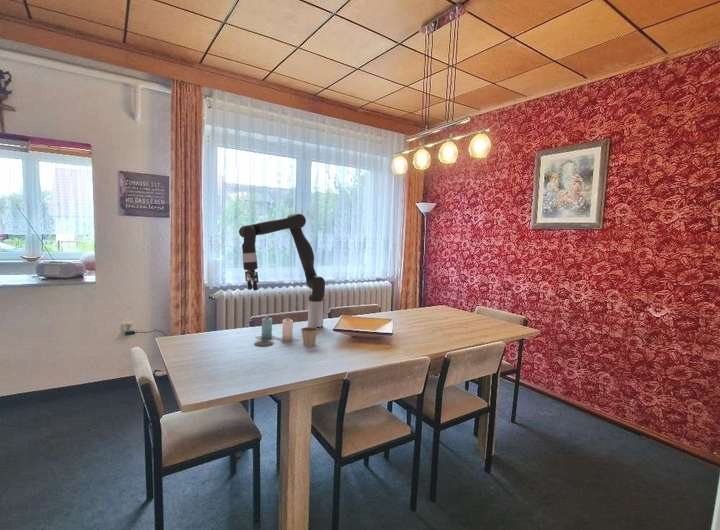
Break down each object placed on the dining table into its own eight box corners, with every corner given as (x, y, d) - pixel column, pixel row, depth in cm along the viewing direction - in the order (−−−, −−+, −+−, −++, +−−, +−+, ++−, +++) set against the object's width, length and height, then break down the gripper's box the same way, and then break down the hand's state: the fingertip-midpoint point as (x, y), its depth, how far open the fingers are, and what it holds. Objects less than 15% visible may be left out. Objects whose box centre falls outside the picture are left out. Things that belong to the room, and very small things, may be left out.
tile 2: (290, 337, 203) (290, 336, 203) (299, 341, 195) (299, 340, 195) (274, 339, 196) (274, 338, 196) (283, 344, 189) (283, 343, 189)
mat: (268, 340, 193) (268, 339, 193) (277, 345, 186) (277, 344, 186) (251, 344, 187) (251, 342, 187) (259, 349, 179) (259, 347, 179)
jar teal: (268, 336, 201) (269, 315, 200) (273, 338, 197) (274, 317, 196) (259, 337, 197) (260, 316, 196) (264, 340, 193) (264, 318, 192)
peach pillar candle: (289, 337, 200) (289, 317, 199) (294, 340, 195) (294, 319, 194) (280, 339, 196) (280, 318, 195) (285, 341, 192) (285, 320, 191)
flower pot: (298, 343, 192) (298, 327, 192) (314, 341, 196) (315, 326, 196) (303, 348, 184) (303, 332, 183) (320, 346, 188) (320, 330, 187)
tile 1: (270, 335, 204) (270, 334, 204) (278, 339, 197) (278, 338, 197) (254, 338, 197) (254, 337, 197) (262, 342, 190) (262, 341, 190)
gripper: (261, 260, 192) (263, 289, 193) (252, 260, 203) (254, 287, 205) (247, 262, 188) (250, 291, 189) (239, 261, 199) (241, 289, 200)
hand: (252, 289), depth 197 cm, fingers open, 8 cm apart
